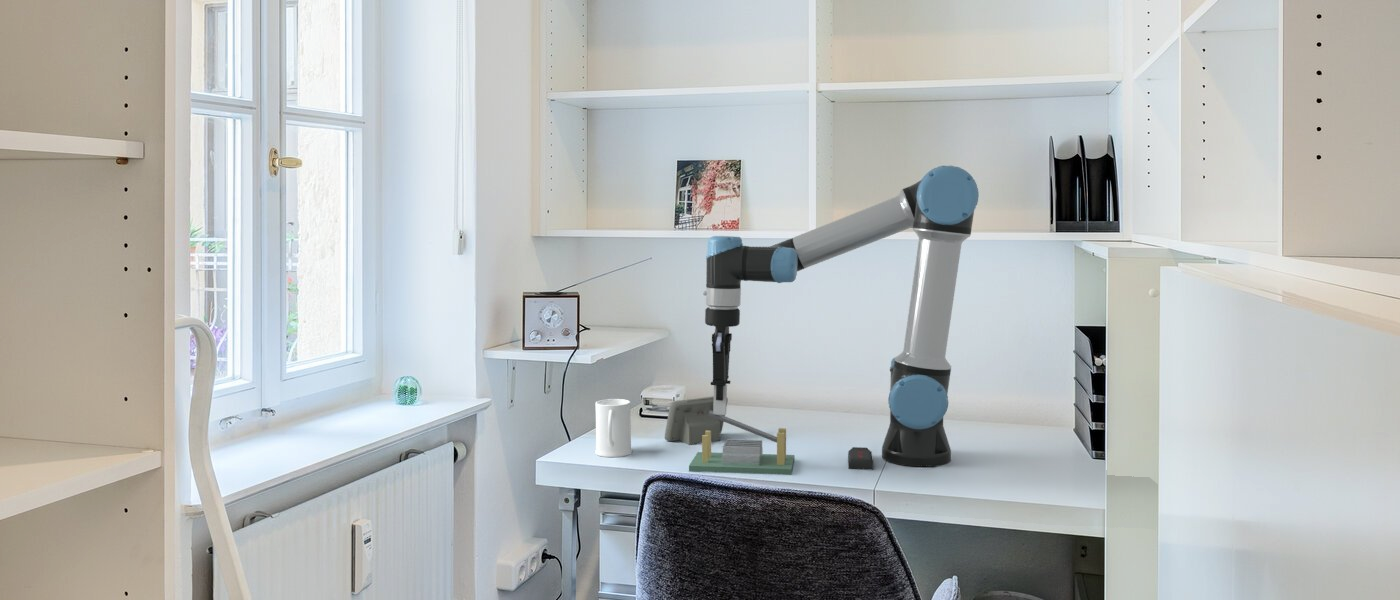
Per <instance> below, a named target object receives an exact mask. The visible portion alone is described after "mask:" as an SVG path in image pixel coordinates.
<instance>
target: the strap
mask: <svg viewBox="0 0 1400 600" xmlns="http://www.w3.org/2000/svg"><path fill="white" fill-rule="evenodd" d="M708 415H709V416H711V417H714V418H716V419H719V420H721V421H724V422H723V423H727V424H729V425H732V426H733V427H734V426H735V427H737V428H739V429H741V430H744V431H747V432H749V433H751V434H754V435H756V436H759V437H760V438H761V437H762V438H764V439H766V440H769V441H772V442H774V443H776V444H777V435H776V436H775V435H773V434H772V433H771V434H770V433H767V432H765V431H762V430H761V429H758V428H755V427H753V426H750V425H748V424H745V423H743V422H741V421H738V420H736V419H732V418H730V417H728V416H726V415H725V416H723V415H716V414H713V411H711V410H710V412H709V414H708Z"/></svg>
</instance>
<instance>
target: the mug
mask: <svg viewBox="0 0 1400 600" xmlns="http://www.w3.org/2000/svg"><path fill="white" fill-rule="evenodd" d="M631 423H632V421H631V401H630V400H628V399H624V398H623V399H622V398H608V399H605V398H604V399H601V400H598V401H597V400H596V401H595V452H594V453H595V455H596V456H598V457H603V458H621V457H626V456H629V455H632V453H633V449H632V434H631V433H632V431H631V430H632V425H631Z"/></svg>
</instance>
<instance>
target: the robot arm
mask: <svg viewBox="0 0 1400 600" xmlns="http://www.w3.org/2000/svg"><path fill="white" fill-rule="evenodd" d="M979 193H980V192H979V188H978V185H977V182H976V180H975V179H974V177H973V176H972V175H971V174H970V173H969V172H968V171H967V170H965V169H964V168H961V167H960V166H954V165H940V166H937V167H934V168H932V169H931V170H929V171H928V172H927V173H926V174H924V175H923V177H922V178H921V180H919V181H917V182H915V183H914V184H912V185H909V186H907V187H904V188H902V189H900V192H899V193H898V195H896V196H895V197H892V198H890V199H887V200H884V201H882V202H879V203H876V204H874V205H872V206H869V207H867V208H865V209H862V210H859V211H856V212H854V213H852V214H849V215H846V216H844V217H842V218H839V219H837V220H835V221H831V222H829V223H826V224H824V225H821V226H819V227H816V228H814V229H811V230H809V231H806V232H804V233H801V234H799V235H796V236H794V237H792V238H788V239H786V240H784V241H781V242H778V243H776V244H772V245H771V246H749V245H744V243H743V240H742V237H740V236H730V235H728V236H727V235H714V236H711V237H709V239H708V240H707V250H706V251H707V252H706V257H705V259H706V271H705V272H706V280H705V281H706V283H705V287H706V289H705V290H704V291H703V292H702V294H703V296H706V297H705V305H706V306H708V307H706V308H705V309H704V310H705V311H704V312H705V316H704V323H705V324H706V325H707V326H710V327H715V329H714V332H713V333H712V334H711V342H712V343H711V347H712V348H711V349H712V381H710V386H713V396H714V402H713V414H716V415H725V416H726V415H727V407H726V405H727V406H728V401H727V399H728V385H731V380H729V372H730V371H729V369H730V368H729V367H730V352H731V342H732V339H733V334H732V332H731V333H730V328H732V327H733V328H734V327H737V326H739V325H740V323H741V322H740V319H741V317H740V316H741V310H740V308H738V307H740V306H741V299H742V297H741V295H742V293H741V292H742V291H741V290H742V288H741V282H742V281H745V282H748V281H749V282H750V281H751V282H764V283H765V282H766V283H777V284H781V283H782V284H783V283H793V282H795V280H796V278H797V275H798V272H800V271H802V270H804V269H807V268H809V267H812V266H814V265H817V264H820V263H824V262H825V261H827V260H830V259H833V258H835V257H839V256H841V255H843V254H846V253H848V252H851V251H854V250H857V249H859V248H861V247H865V246H867V245H869V244H872V243H874V242H877V241H879V240H883V239H885V238H888V237H890V236H893V235H896V234H898V233H901V232H903V231H906V230H909V229H912V230H913V231H914V232H915V234H916V236H917V237H918V243H917V251H916V256H915V257H916V258H915V265H914V270H913V271H914V272H913V274H914V275H913V279H912V285H911V286H912V287H911V294H910V301H909V307H908V308H909V309H908V315H907V322H906V330H905V337H904V344H903V351H902V352H901V353H899V354H898V355H897V356H895V357H893V358H892V359H891V361H890V367H889V372H890V386H889V387H890V388H889V394H888V400H887V401H888V407H889V410H890V411H889V412H890V413H889V414H890V415H889V416H890V418H889V419H890V420H889V427H888V428H887V433H886V434H885V438H884V441H883V443H882V446H881V457H882V459H884V460H885V461H886V462H889V463H892V464H896V465H900V466H910V467H936V466H942V465H945V464H948V463H950V462H951V460H952V459H951V458H952V449H951V446H950V443H949V440H948V437H947V433H946V430H945V426H944V417H945V415H946V413H947V412H948V407H949V396H948V394H949V388H950V387H949V385H950V378H951V372H952V365H951V364H950V363H949V361H948V360H947V359H946V354H947V353H946V352H947V347H948V341H949V333H950V326H951V319H952V314H953V313H952V312H953V307H954V305H953V304H954V300H955V299H954V298H955V291H956V285H957V278H958V272H959V271H958V270H959V263H960V259H961V258H960V257H961V250H962V244H963V242H965V241H966V240H967V239H969V238H970V237H971V235H972V227H973V221H974V215H975V209H976V208H977V206H978V202H979Z"/></svg>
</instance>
